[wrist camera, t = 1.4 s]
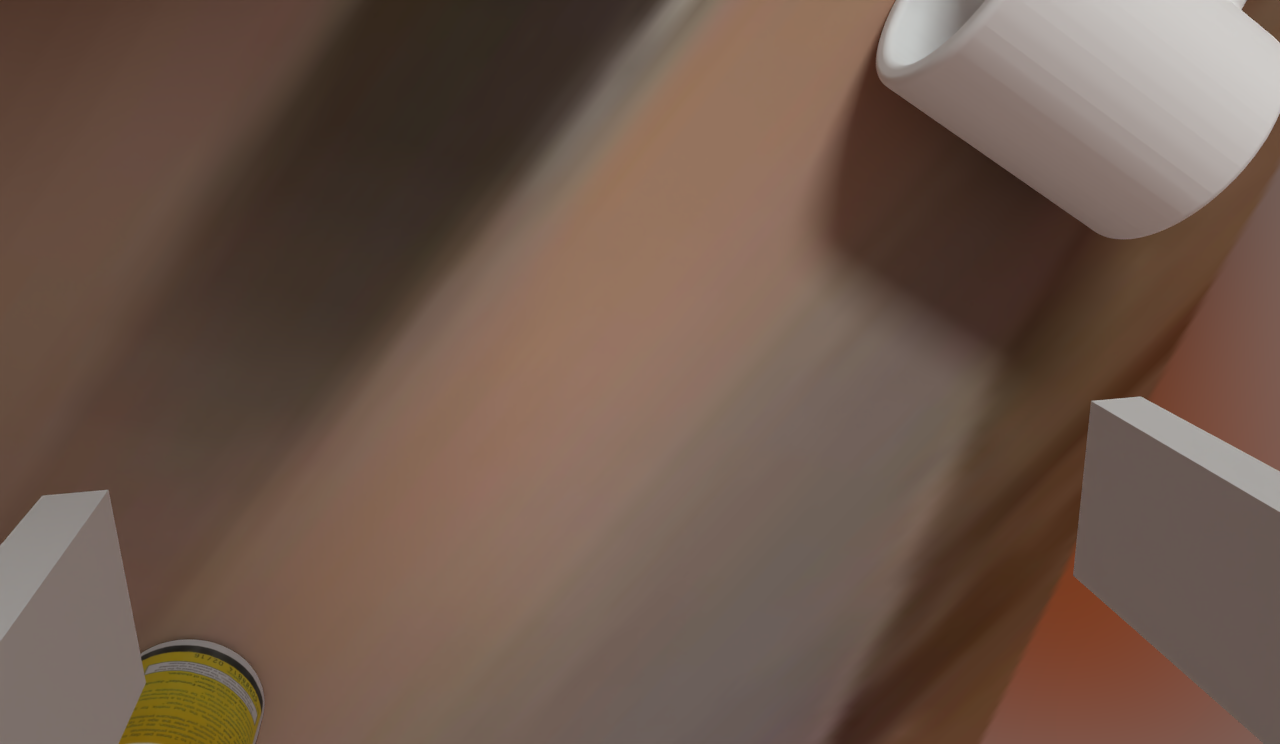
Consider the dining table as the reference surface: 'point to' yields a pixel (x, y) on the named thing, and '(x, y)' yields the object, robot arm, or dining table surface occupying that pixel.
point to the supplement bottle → (196, 696)
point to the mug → (1094, 96)
